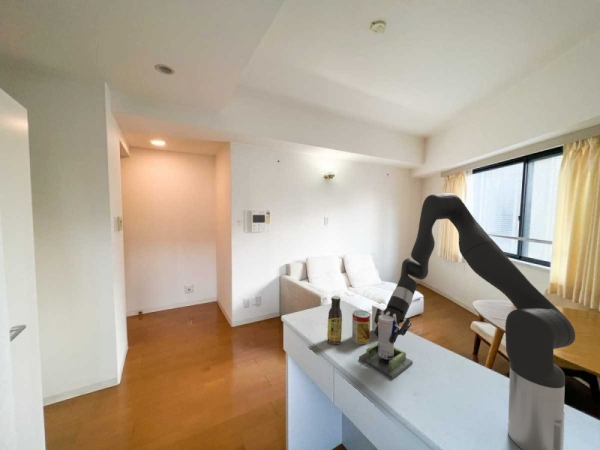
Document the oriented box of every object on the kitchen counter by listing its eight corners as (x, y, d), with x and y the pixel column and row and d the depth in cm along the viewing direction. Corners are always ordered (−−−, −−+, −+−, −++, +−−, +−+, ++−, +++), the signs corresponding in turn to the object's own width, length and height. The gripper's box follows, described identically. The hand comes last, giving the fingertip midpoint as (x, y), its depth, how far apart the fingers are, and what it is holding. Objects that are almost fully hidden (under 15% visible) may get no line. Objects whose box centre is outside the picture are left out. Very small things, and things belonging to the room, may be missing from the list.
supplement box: (394, 333, 109) (394, 307, 109) (382, 337, 106) (383, 310, 105) (382, 327, 116) (382, 302, 115) (371, 330, 112) (371, 305, 112)
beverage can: (395, 361, 84) (395, 321, 84) (379, 359, 85) (379, 320, 85) (392, 352, 90) (392, 315, 89) (377, 350, 91) (377, 313, 90)
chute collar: (412, 364, 86) (412, 353, 86) (392, 379, 78) (392, 367, 78) (379, 347, 97) (379, 337, 97) (359, 359, 89) (359, 349, 89)
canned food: (373, 342, 102) (374, 315, 101) (359, 345, 99) (359, 318, 98) (362, 333, 109) (363, 308, 109) (348, 336, 106) (349, 311, 106)
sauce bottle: (330, 346, 98) (330, 300, 97) (325, 338, 104) (325, 295, 103) (344, 344, 100) (344, 299, 99) (338, 337, 106) (338, 294, 105)
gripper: (380, 291, 97) (363, 327, 90) (414, 300, 86) (397, 342, 79) (387, 300, 100) (371, 336, 93) (421, 311, 89) (405, 352, 82)
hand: (383, 338), depth 86 cm, fingers closed on beverage can, 5 cm apart
